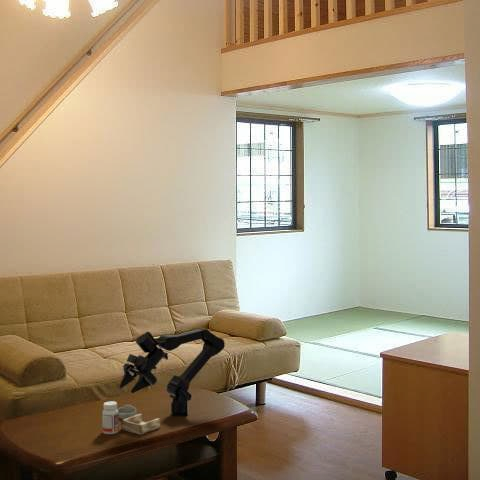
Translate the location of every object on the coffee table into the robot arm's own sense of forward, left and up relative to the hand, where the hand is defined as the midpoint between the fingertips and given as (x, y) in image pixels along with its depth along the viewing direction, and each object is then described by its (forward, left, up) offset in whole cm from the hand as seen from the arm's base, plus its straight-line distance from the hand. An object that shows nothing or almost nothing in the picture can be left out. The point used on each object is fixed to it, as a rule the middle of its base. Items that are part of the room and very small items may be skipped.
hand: (125, 389), depth 268 cm
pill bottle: (+5, +7, -15) cm, 17 cm away
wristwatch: (+2, -11, -15) cm, 19 cm away
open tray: (-6, +3, -15) cm, 16 cm away
